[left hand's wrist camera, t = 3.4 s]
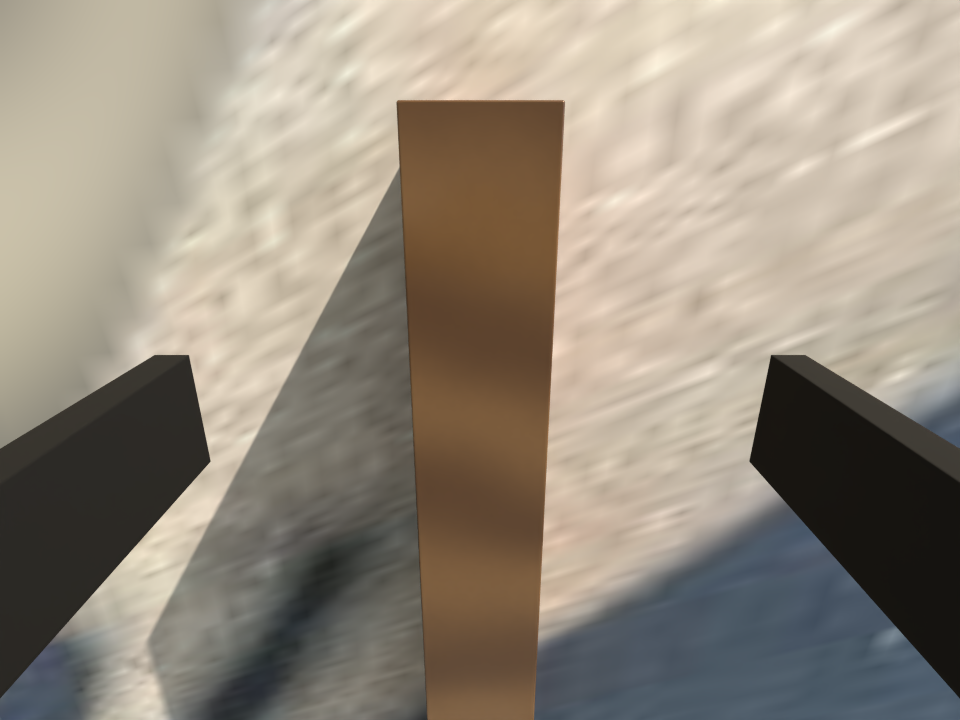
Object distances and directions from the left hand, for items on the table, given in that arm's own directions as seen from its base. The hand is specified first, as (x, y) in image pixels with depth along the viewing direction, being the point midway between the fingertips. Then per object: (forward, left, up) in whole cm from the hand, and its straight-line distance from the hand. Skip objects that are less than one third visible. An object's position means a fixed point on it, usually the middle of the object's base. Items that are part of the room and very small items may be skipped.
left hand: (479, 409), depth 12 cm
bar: (+9, +29, -15) cm, 34 cm away
